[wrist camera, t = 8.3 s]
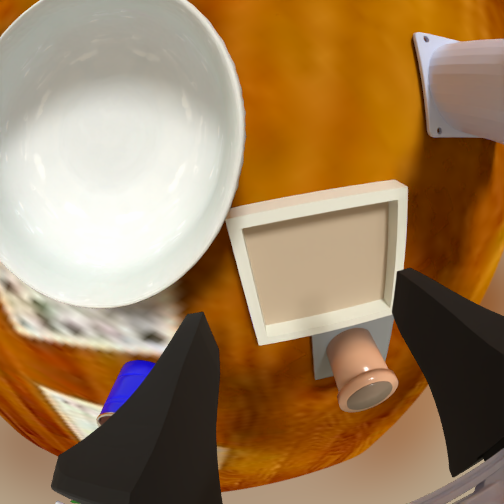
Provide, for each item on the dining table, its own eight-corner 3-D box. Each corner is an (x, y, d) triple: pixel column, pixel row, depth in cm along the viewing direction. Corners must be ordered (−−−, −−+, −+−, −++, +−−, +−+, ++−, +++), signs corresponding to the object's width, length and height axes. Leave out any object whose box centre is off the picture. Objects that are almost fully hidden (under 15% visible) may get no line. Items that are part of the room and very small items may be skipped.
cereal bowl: (297, 146, 16) (334, 170, 10) (123, 286, 21) (91, 350, 15) (136, -25, 10) (94, -70, 3) (-3, 144, 14) (-63, 168, 8)
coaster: (393, 303, 23) (395, 307, 22) (383, 357, 27) (385, 361, 26) (309, 324, 23) (311, 328, 23) (313, 375, 27) (315, 380, 27)
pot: (367, 316, 23) (395, 368, 17) (378, 347, 25) (401, 394, 20) (315, 342, 24) (332, 398, 18) (332, 369, 26) (348, 419, 21)
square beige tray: (394, 179, 18) (407, 186, 16) (388, 300, 23) (397, 313, 21) (226, 209, 18) (224, 219, 17) (257, 330, 23) (258, 345, 22)
